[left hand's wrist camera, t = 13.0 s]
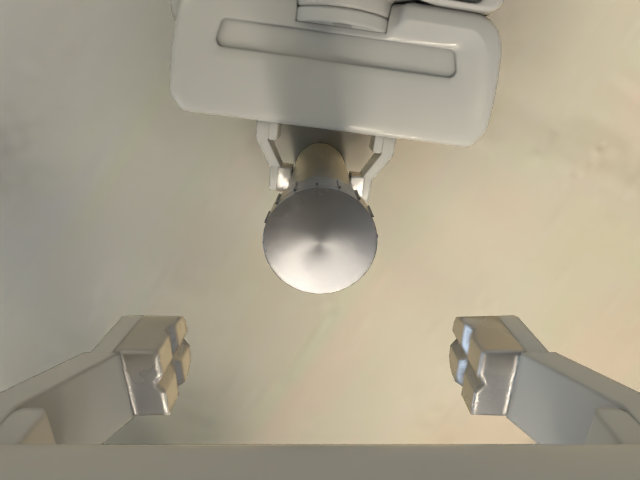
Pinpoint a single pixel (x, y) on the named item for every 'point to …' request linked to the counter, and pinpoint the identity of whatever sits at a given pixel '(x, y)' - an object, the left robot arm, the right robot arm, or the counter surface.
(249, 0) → the right robot arm
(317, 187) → the lid
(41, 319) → the counter surface
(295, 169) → the beige cylinder
